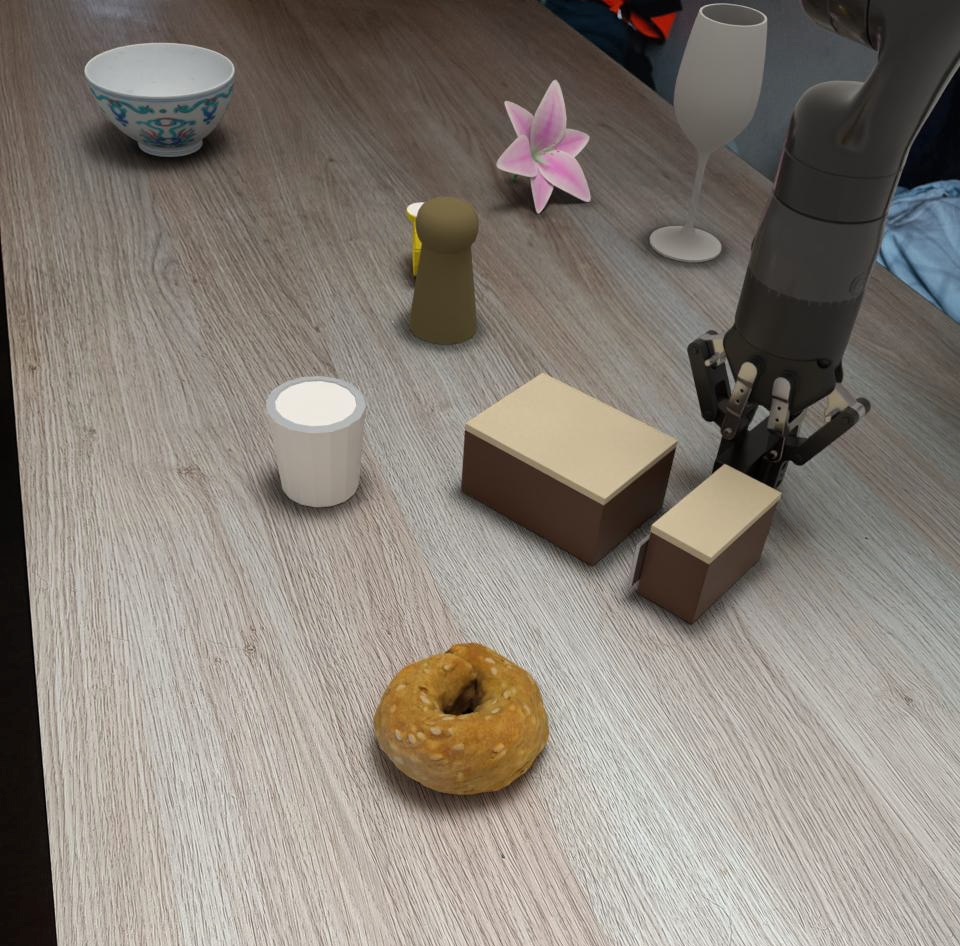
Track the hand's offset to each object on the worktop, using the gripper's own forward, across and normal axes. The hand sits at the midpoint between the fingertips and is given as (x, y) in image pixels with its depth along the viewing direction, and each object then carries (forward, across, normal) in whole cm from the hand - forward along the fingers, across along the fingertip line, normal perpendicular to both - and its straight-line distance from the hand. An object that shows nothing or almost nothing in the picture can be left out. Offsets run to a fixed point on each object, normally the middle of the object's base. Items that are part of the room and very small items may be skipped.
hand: (744, 483), depth 82 cm
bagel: (+1, 0, +32) cm, 32 cm away
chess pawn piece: (+1, +32, -2) cm, 32 cm away
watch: (+2, +40, -8) cm, 41 cm away
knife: (+1, 0, +5) cm, 5 cm away
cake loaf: (+1, +10, +10) cm, 14 cm away
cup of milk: (+1, +24, +21) cm, 31 cm away
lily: (+1, +42, -29) cm, 51 cm away
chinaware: (+2, +77, -9) cm, 77 cm away
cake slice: (+1, -2, +10) cm, 10 cm away
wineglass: (+1, +25, -31) cm, 40 cm away
